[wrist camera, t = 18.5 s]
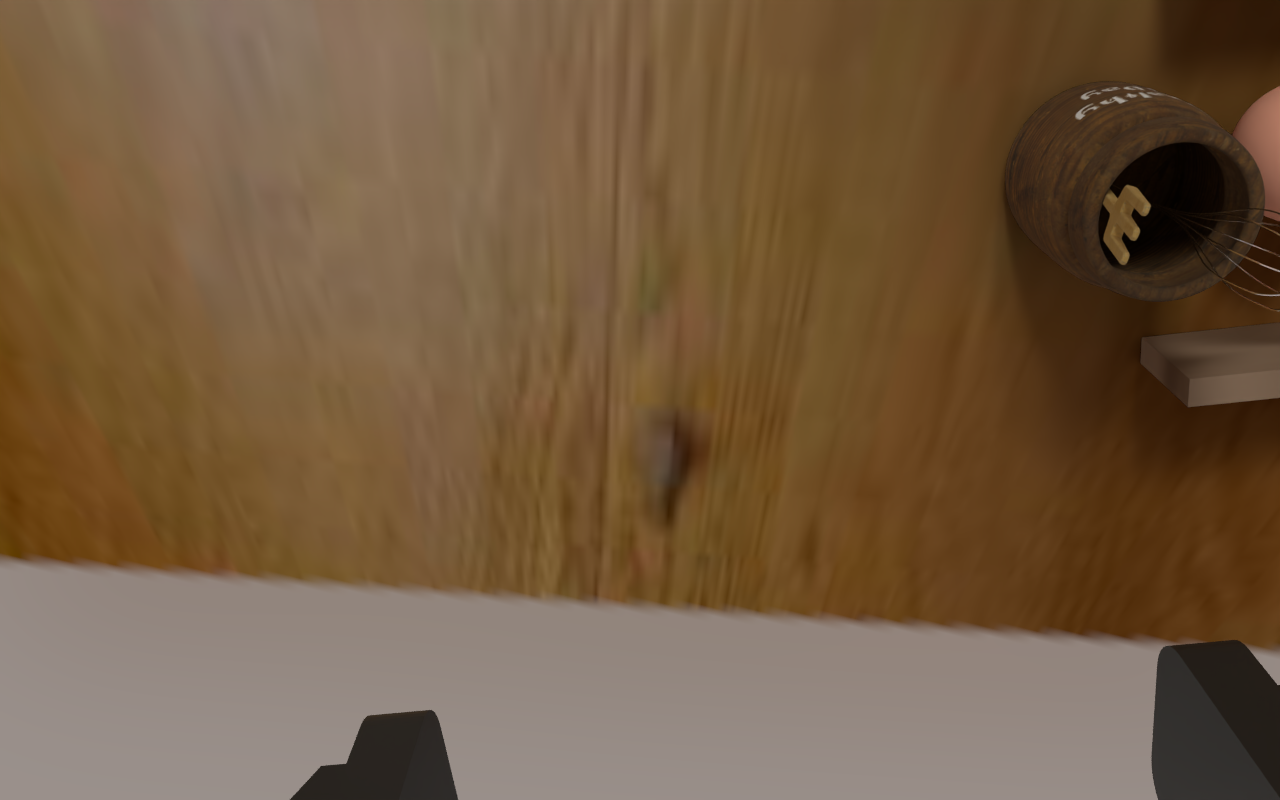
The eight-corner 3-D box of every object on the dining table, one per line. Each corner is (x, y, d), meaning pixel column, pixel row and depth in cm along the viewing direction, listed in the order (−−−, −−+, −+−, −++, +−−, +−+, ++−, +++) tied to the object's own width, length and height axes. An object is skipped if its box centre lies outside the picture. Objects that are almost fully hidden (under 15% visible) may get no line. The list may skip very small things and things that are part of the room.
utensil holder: (1136, 271, 39) (1321, 406, 28) (964, 227, 39) (1084, 348, 28) (1209, 102, 37) (1442, 178, 26) (1028, 54, 37) (1186, 110, 25)
